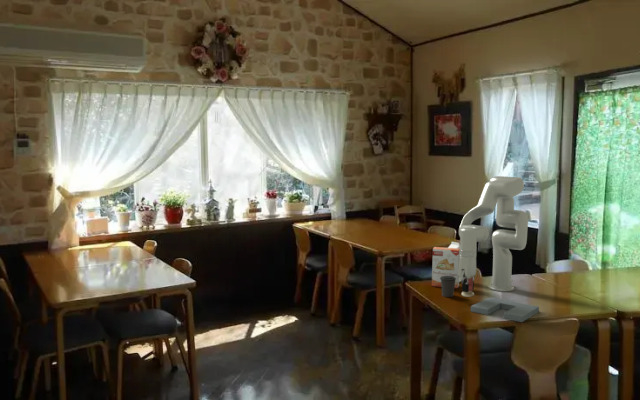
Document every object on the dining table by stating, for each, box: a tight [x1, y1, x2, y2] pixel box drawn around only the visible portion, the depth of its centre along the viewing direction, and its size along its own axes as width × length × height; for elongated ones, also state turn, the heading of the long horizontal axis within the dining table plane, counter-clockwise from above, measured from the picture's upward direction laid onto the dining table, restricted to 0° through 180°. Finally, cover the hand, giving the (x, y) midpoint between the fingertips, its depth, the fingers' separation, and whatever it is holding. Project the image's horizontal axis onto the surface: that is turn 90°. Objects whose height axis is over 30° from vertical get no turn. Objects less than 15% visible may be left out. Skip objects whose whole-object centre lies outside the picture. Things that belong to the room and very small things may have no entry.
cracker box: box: [431, 246, 460, 289], centre depth 306 cm, size 14×6×21 cm, turn 70°
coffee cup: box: [440, 276, 456, 298], centre depth 288 cm, size 8×8×10 cm
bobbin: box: [461, 275, 475, 298], centre depth 274 cm, size 6×6×10 cm
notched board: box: [470, 297, 540, 323], centre depth 262 cm, size 20×24×2 cm
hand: (467, 290), depth 274 cm, fingers closed on bobbin, 4 cm apart
